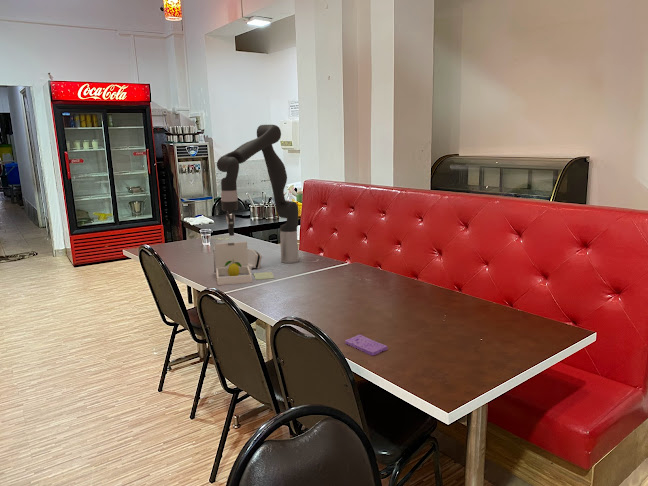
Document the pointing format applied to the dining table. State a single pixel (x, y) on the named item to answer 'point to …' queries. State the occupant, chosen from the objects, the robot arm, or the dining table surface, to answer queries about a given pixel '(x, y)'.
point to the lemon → (233, 268)
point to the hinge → (254, 259)
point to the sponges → (366, 345)
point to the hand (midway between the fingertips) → (231, 234)
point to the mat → (263, 275)
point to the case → (229, 253)
